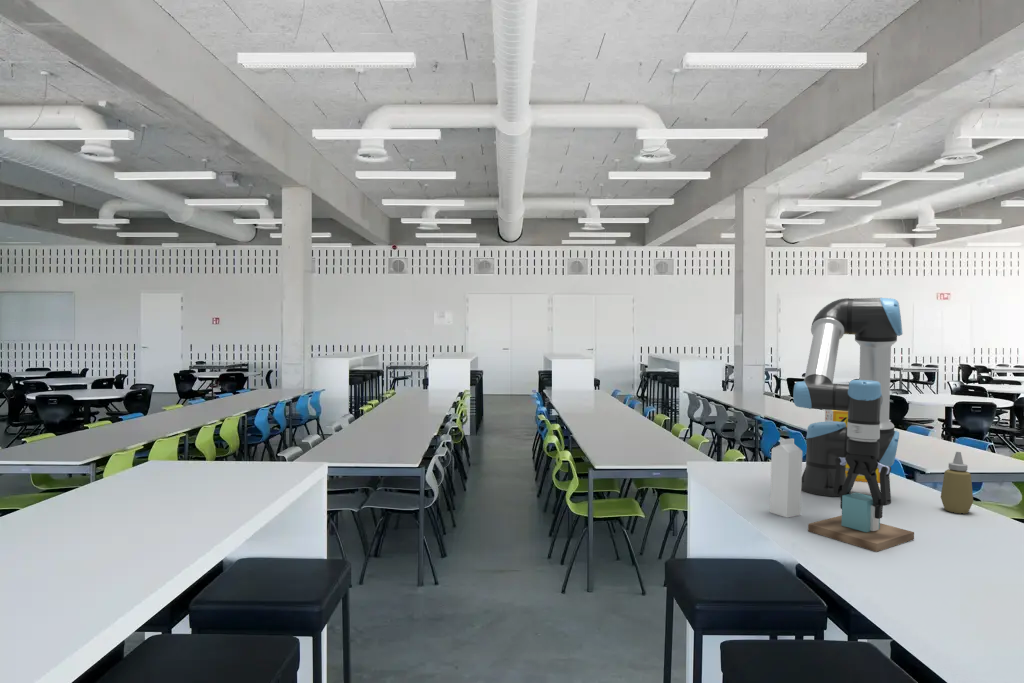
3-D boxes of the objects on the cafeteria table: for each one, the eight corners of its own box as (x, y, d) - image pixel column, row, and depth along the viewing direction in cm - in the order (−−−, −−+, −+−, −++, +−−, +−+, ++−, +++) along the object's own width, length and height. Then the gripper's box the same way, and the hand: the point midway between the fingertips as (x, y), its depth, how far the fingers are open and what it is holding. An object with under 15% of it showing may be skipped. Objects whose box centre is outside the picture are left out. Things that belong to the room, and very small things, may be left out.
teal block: (841, 525, 168) (842, 495, 168) (855, 521, 172) (856, 492, 171) (866, 532, 163) (867, 501, 162) (879, 528, 166) (880, 498, 166)
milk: (769, 512, 187) (771, 438, 186) (783, 510, 190) (784, 436, 189) (787, 518, 181) (788, 441, 181) (801, 515, 184) (802, 439, 184)
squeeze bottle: (978, 516, 187) (980, 455, 186) (947, 514, 188) (949, 453, 188) (964, 508, 195) (966, 450, 194) (935, 506, 196) (937, 448, 196)
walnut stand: (808, 531, 170) (808, 501, 170) (845, 521, 179) (846, 493, 179) (876, 551, 155) (877, 519, 154) (913, 539, 164) (914, 509, 164)
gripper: (819, 434, 173) (817, 518, 173) (894, 446, 156) (891, 539, 157) (835, 432, 177) (833, 514, 177) (909, 444, 160) (906, 534, 161)
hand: (860, 526), depth 167 cm, fingers closed on teal block, 6 cm apart
